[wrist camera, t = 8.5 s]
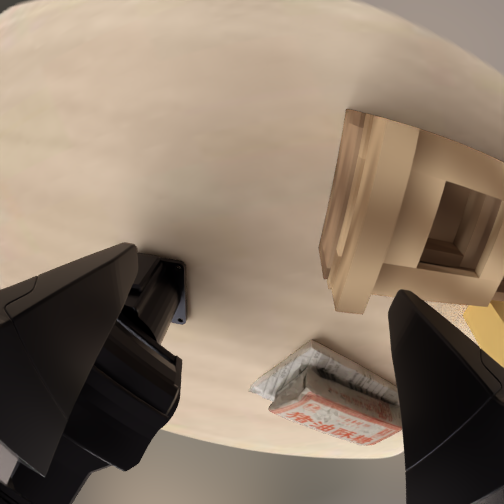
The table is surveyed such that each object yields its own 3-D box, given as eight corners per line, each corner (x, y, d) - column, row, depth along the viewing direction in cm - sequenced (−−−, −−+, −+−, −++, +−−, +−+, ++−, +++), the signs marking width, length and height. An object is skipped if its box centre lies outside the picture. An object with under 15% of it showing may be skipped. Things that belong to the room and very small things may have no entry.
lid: (483, 300, 18) (498, 324, 15) (327, 281, 18) (332, 310, 16) (532, 176, 13) (557, 191, 10) (365, 113, 13) (382, 117, 11)
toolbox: (495, 277, 21) (516, 302, 17) (318, 247, 22) (323, 278, 18) (533, 177, 16) (561, 194, 13) (346, 108, 17) (361, 112, 13)
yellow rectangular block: (485, 317, 23) (522, 383, 15) (462, 315, 23) (499, 387, 15) (500, 289, 22) (545, 354, 14) (478, 286, 22) (524, 357, 14)
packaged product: (422, 423, 26) (358, 455, 31) (414, 391, 30) (355, 426, 35) (312, 375, 22) (243, 418, 27) (311, 333, 26) (248, 381, 31)
